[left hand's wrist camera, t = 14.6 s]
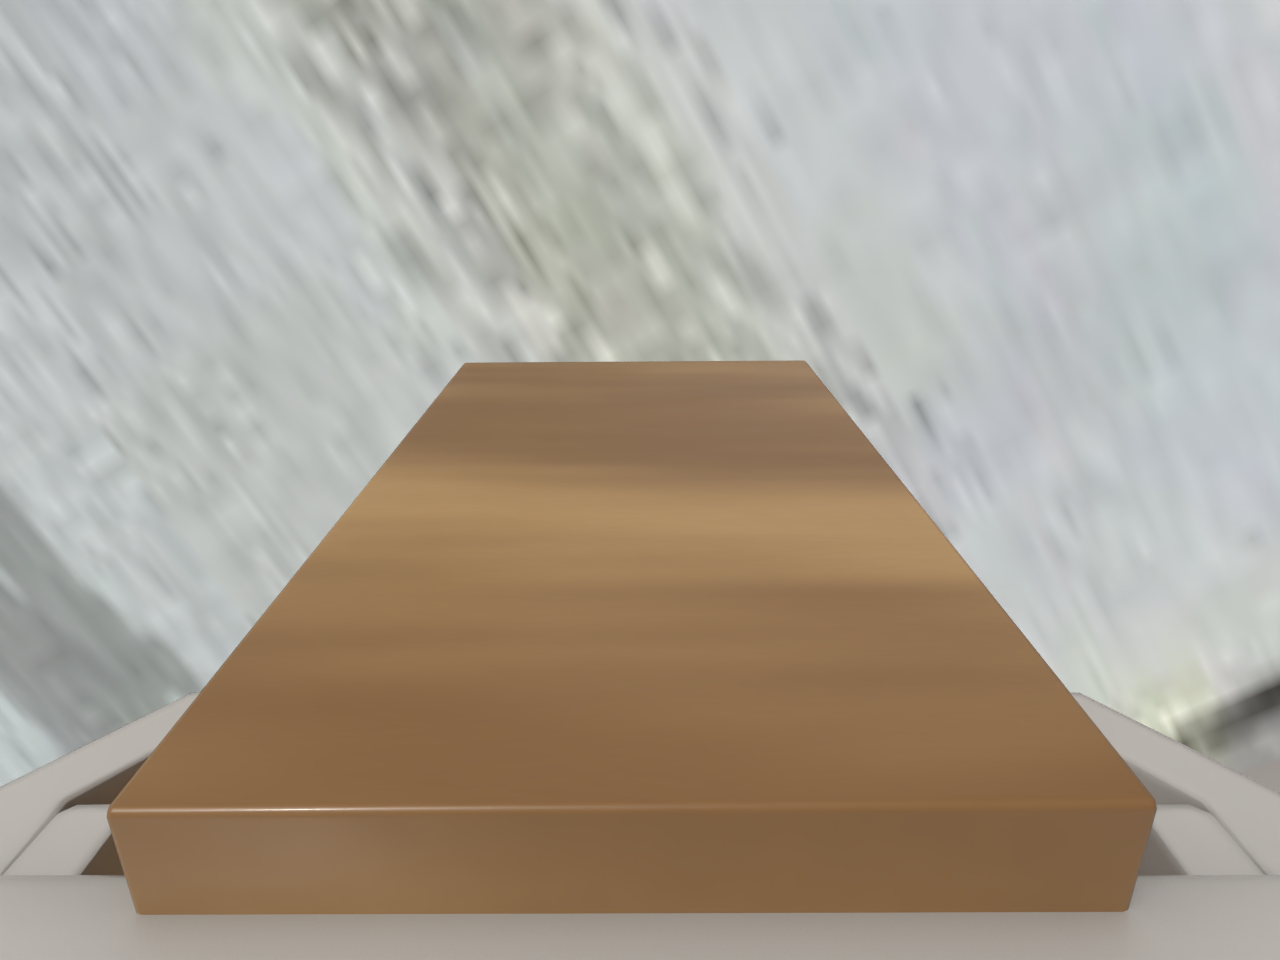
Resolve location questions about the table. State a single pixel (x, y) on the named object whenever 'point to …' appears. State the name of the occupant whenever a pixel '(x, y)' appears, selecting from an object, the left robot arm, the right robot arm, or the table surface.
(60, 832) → the left robot arm
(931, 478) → the table surface
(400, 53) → the table surface
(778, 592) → the box
